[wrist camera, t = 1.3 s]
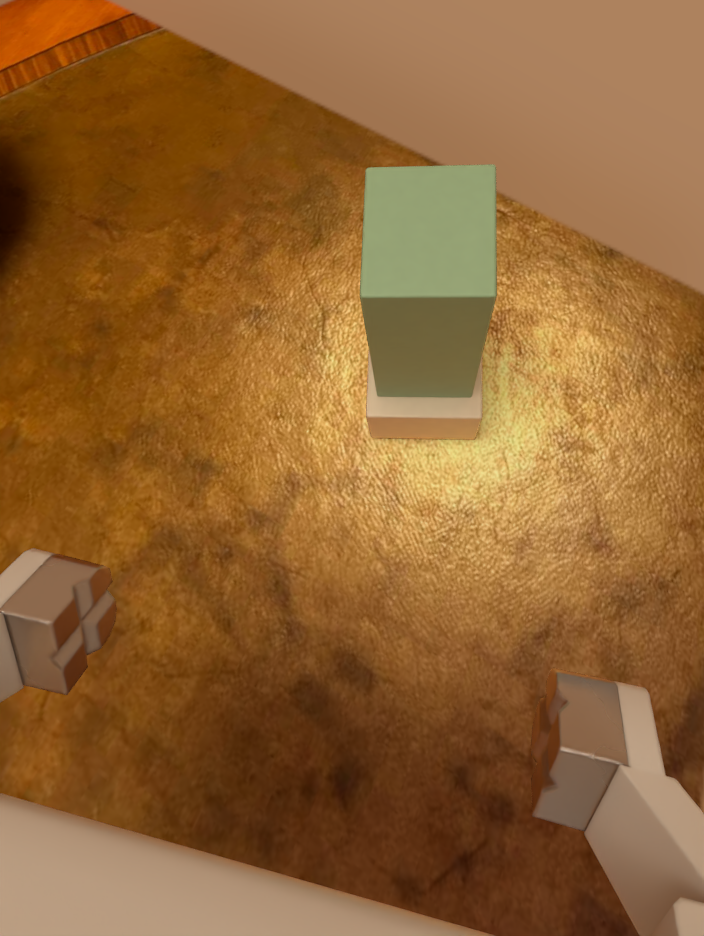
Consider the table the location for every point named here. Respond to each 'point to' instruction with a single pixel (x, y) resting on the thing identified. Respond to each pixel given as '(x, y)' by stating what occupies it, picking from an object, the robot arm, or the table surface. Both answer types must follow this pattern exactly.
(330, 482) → the table surface
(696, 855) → the robot arm
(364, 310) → the green block on base
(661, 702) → the table surface
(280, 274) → the table surface
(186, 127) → the table surface
